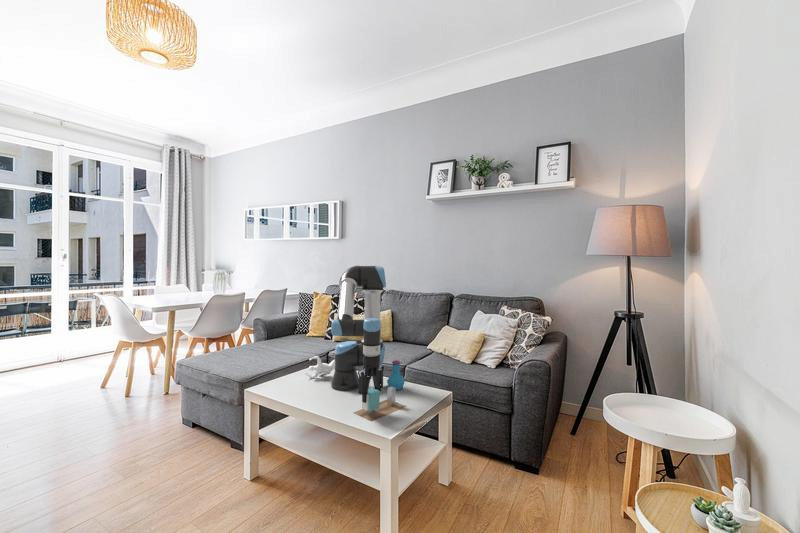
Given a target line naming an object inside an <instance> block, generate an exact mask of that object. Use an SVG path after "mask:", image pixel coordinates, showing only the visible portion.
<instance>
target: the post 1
mask: <svg viewBox="0 0 800 533" xmlns="http://www.w3.org/2000/svg"><path fill="white" fill-rule="evenodd" d="M366 413H367V414H369V415H372V414H375V410H373V411H368V410H366Z"/></svg>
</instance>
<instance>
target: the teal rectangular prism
mask: <svg viewBox="0 0 800 533" xmlns="http://www.w3.org/2000/svg"><path fill="white" fill-rule="evenodd" d="M380 392H381V391H379V390H376V389H375V388H374V387H369V388H368V393H367V395H369V407H368V411H373V410H375V409H378V408H379V402H380V395H381V394H380ZM361 402H362V401H361ZM361 404H362V409H363V402H362V403H361Z"/></svg>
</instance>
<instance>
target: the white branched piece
mask: <svg viewBox="0 0 800 533" xmlns="http://www.w3.org/2000/svg"><path fill="white" fill-rule="evenodd" d="M315 359H316V361H317V363H316V364H317V365H316V366H315V365H310V366H309V367H308V370H309V371H311V372H313V371H315V372H314V374H312V375H311V374H309V373H308V372H307V371H306V372H305V374H304V375H306V376H308V378H310V379H314V378H317V377H318V376H319V375H322V376H325V375H331V373H332V371H334V370H335V359H333V360H332V361H331V362H329V364H327V363H325V362H324V363H323V362H322V359H321V358H320V355H314V356H313V357H310V358H309V359H308V360H309V361H312V360H315Z"/></svg>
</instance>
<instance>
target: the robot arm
mask: <svg viewBox="0 0 800 533" xmlns="http://www.w3.org/2000/svg"><path fill="white" fill-rule="evenodd" d="M386 279H387V278H386V272H385V268H384V267H383V266H378V265H354V266H351V267H349V268H347V269H346V270H345V271H344V272H343V273H342V275H341V276H340V278H339V282H338V288H339V289H340V290H339V296H338V297H339V299H338V306H337V314H336V315H337V316H336V319H332V321H331V325H330V326H331V329H330V330H331V335H332V336H334V337H363V338H362V339H361V340H360V341H361V342H360V344H358V341H356V340H347V341H343V342H339V343H337V344H336V345H335V350H334V360H335V369H334V372H333V376H332V380H331V382H330V386H331V388H332V389H333V390H336V391H352V390H355V389H358V391H357V392H358V393H357V394H359V395H361V396H362V397H361V399H362V400H361V402H363V408H362V409H365V410H368V407H369V395H367V393H368V389H369V388H370V382H371V379H372V383H373V388H374V389H376V390H379V391H380V392H382V389H383V388H384V370H385V366H384V365H383V363H384V359H385V352H386V344H385V343H383V340H382V339H381V333H382V324H381V294H382V293H383V292H384V288H385V289H386V287H387V282H386ZM357 288H361V291H362V292H363V293H364V314H363V315H364V318H363V319H354V313H355V311H354V310H355V296H356V294H355V292H356V290H357ZM358 367H363V368H362V369H361V370H358V369H357V368H358ZM357 370H358V371H357Z"/></svg>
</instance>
